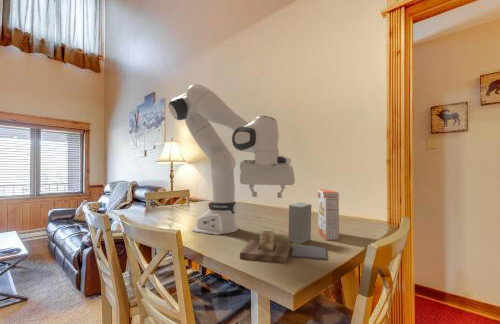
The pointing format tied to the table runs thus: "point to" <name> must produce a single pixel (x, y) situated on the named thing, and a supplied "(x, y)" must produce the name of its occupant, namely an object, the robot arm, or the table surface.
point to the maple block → (267, 240)
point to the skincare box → (299, 223)
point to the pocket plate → (266, 252)
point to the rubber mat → (309, 252)
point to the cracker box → (328, 214)
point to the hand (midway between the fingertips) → (267, 197)
